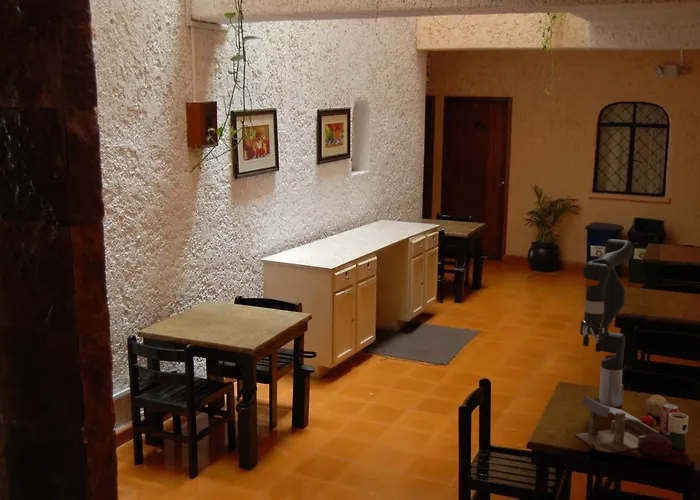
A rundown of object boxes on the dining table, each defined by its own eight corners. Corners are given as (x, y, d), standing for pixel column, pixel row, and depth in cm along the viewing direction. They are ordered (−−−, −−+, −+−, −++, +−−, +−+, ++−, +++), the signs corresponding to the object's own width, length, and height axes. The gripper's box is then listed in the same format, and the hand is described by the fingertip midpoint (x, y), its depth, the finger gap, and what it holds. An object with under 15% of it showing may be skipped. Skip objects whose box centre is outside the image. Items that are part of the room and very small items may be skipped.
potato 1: (643, 419, 326) (644, 401, 324) (645, 408, 338) (646, 391, 337) (667, 423, 322) (669, 405, 320) (669, 411, 334) (670, 394, 333)
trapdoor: (619, 414, 310) (622, 406, 309) (640, 426, 297) (643, 418, 297) (580, 404, 303) (583, 396, 303) (600, 415, 291) (603, 407, 291)
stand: (629, 428, 315) (631, 393, 313) (658, 445, 298) (661, 409, 296) (575, 435, 308) (577, 400, 305) (602, 453, 291) (604, 416, 288)
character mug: (682, 454, 291) (684, 421, 289) (662, 449, 295) (665, 417, 293) (689, 444, 299) (692, 413, 297) (670, 440, 304) (673, 409, 302)
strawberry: (636, 423, 321) (661, 428, 315) (631, 429, 315) (657, 435, 309) (637, 410, 319) (662, 415, 314) (632, 416, 313) (657, 422, 308)
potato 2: (669, 451, 294) (671, 430, 292) (673, 463, 283) (675, 442, 282) (638, 447, 297) (639, 427, 295) (641, 459, 286) (642, 438, 285)
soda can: (655, 431, 312) (657, 404, 310) (668, 429, 315) (670, 401, 313) (668, 438, 306) (670, 410, 304) (681, 435, 308) (683, 407, 307)
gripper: (612, 314, 306) (610, 352, 309) (591, 306, 320) (589, 343, 322) (596, 315, 304) (594, 354, 307) (576, 307, 318) (574, 344, 320)
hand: (591, 348), depth 315 cm, fingers open, 8 cm apart
